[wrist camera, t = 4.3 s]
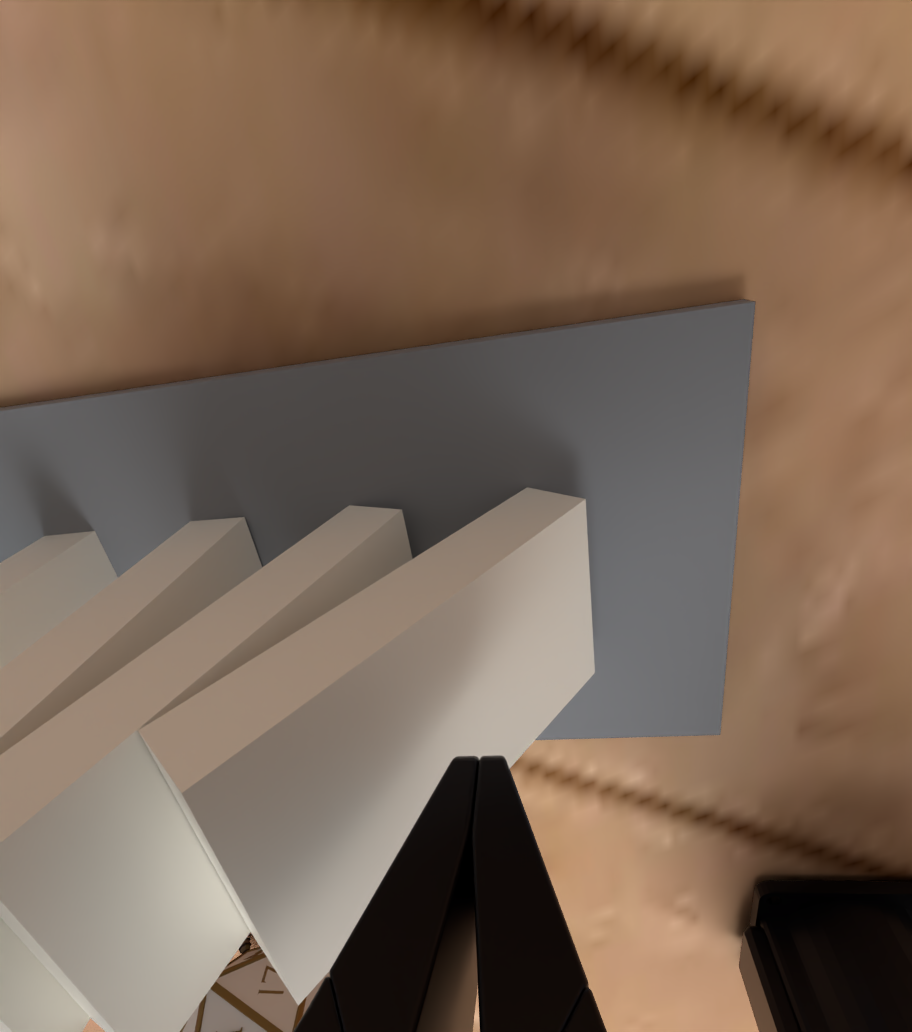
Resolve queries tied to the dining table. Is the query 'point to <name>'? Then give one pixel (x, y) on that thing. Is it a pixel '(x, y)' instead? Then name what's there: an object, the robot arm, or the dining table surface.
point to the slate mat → (448, 475)
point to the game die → (249, 998)
